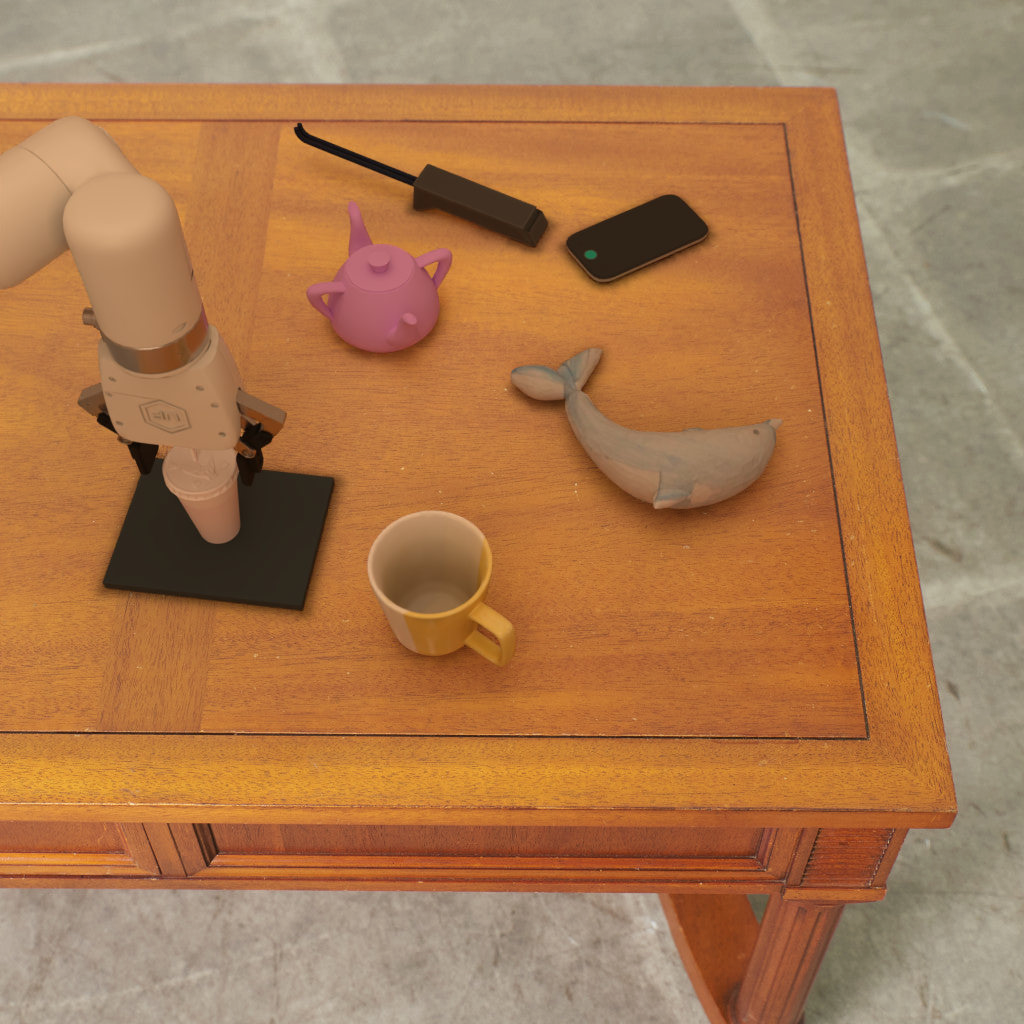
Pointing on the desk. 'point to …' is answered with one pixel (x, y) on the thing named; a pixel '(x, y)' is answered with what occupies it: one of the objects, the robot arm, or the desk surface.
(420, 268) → the teapot
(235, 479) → the smoothie
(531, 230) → the hook tool
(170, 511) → the mat
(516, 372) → the sculpture
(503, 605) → the desk surface
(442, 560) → the mug
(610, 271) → the smartphone
